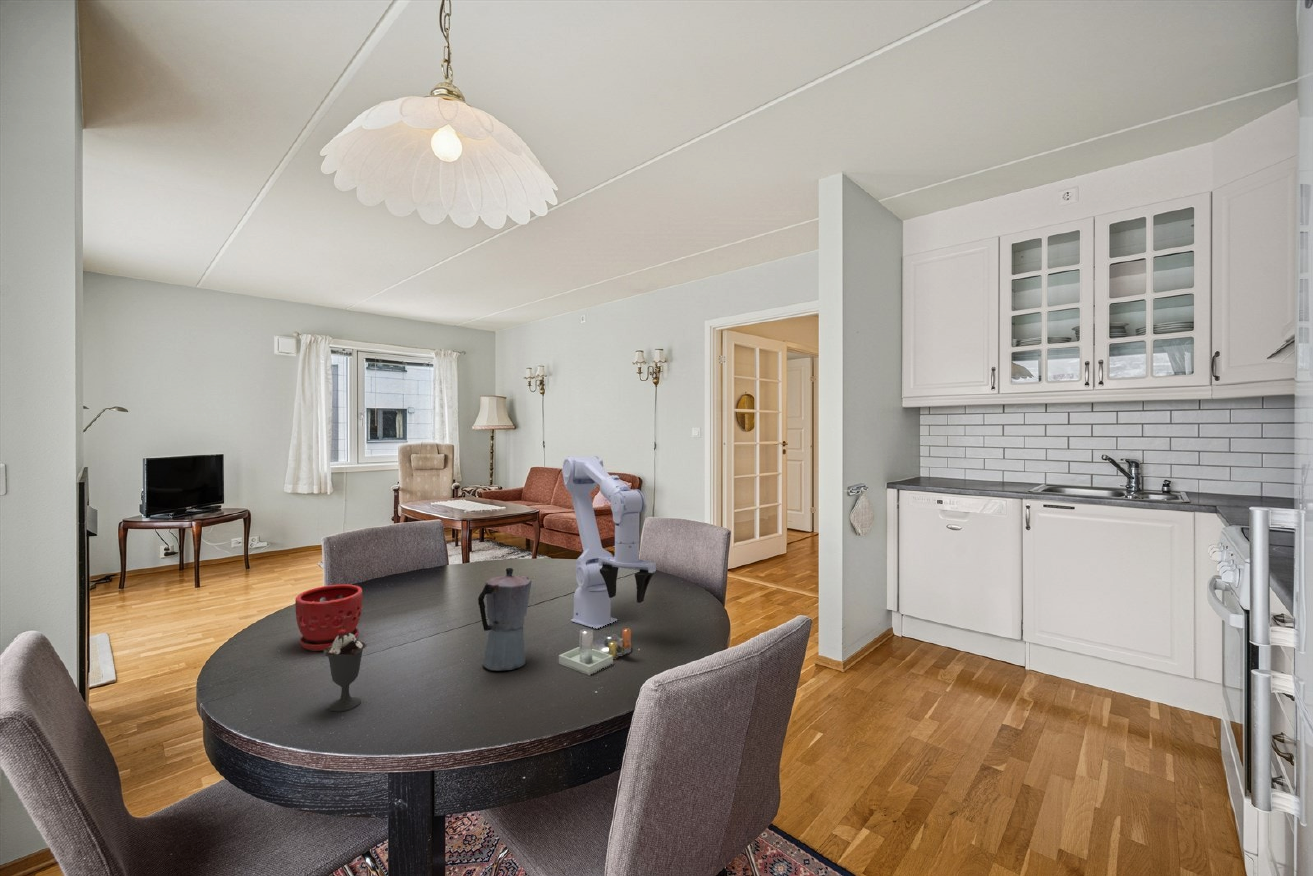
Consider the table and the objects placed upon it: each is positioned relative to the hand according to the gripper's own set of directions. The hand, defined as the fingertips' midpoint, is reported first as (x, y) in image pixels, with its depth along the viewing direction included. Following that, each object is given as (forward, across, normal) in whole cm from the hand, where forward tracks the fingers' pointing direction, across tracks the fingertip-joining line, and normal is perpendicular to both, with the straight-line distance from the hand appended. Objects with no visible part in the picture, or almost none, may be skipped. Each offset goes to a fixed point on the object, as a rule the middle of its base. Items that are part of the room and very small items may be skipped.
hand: (626, 599), depth 127 cm
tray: (+10, +1, +15) cm, 18 cm away
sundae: (+10, +29, +50) cm, 58 cm away
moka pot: (+10, +16, +24) cm, 30 cm away
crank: (+8, -2, +8) cm, 11 cm away
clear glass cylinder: (+9, +1, +15) cm, 18 cm away
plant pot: (+10, +58, +34) cm, 68 cm away
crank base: (+10, 0, +6) cm, 12 cm away
